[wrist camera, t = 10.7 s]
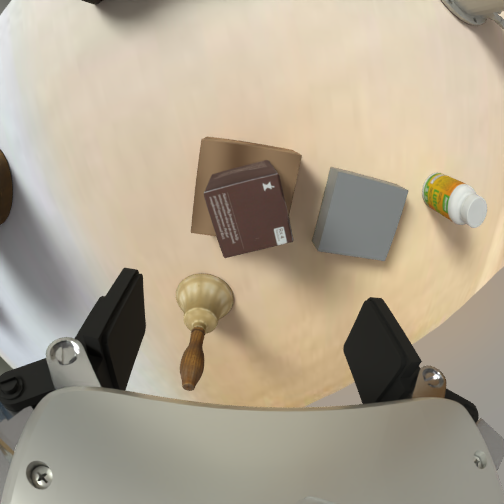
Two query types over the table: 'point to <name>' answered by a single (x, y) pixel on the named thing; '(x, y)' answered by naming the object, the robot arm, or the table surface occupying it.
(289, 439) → the robot arm
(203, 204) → the walnut stand
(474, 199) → the supplement bottle
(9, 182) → the wooden container
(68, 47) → the table surface
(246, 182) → the box
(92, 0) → the camera
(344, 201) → the block
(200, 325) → the hand bell
